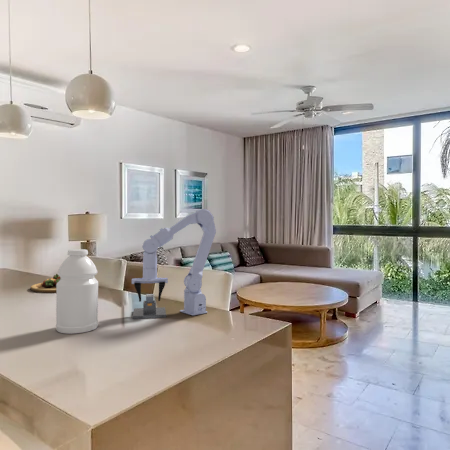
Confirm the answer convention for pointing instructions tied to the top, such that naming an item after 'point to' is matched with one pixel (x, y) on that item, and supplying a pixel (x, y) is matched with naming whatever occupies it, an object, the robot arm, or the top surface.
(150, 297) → the column
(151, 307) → the stand base
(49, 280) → the wooden plate with food
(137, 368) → the top surface
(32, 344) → the top surface
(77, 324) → the bottle
